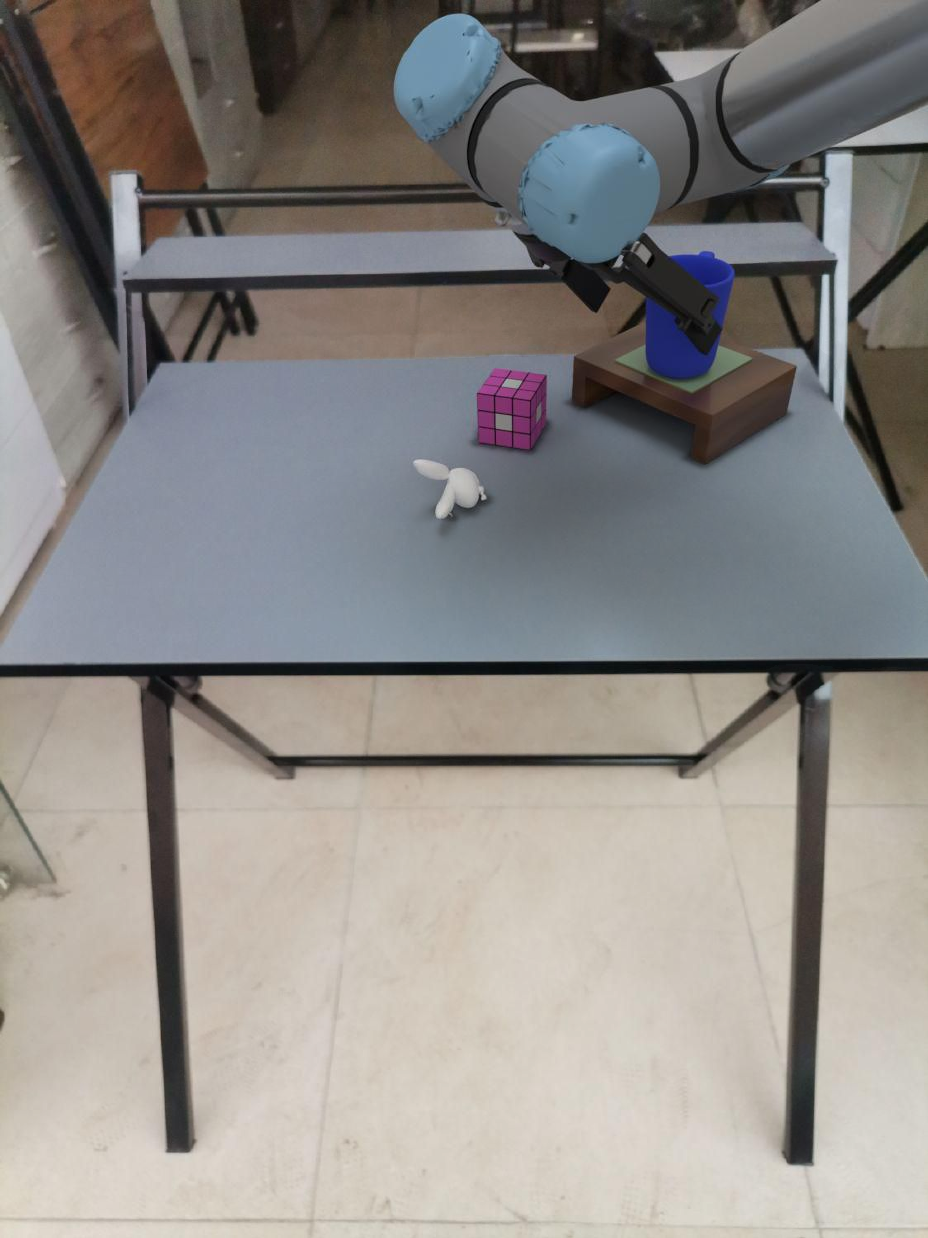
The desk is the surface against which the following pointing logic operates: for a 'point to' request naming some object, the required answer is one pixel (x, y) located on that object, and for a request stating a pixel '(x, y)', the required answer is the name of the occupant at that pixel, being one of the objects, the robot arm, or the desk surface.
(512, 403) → the puzzle toy
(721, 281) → the mug
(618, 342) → the shelf
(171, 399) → the desk surface
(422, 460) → the rabbit figurine
